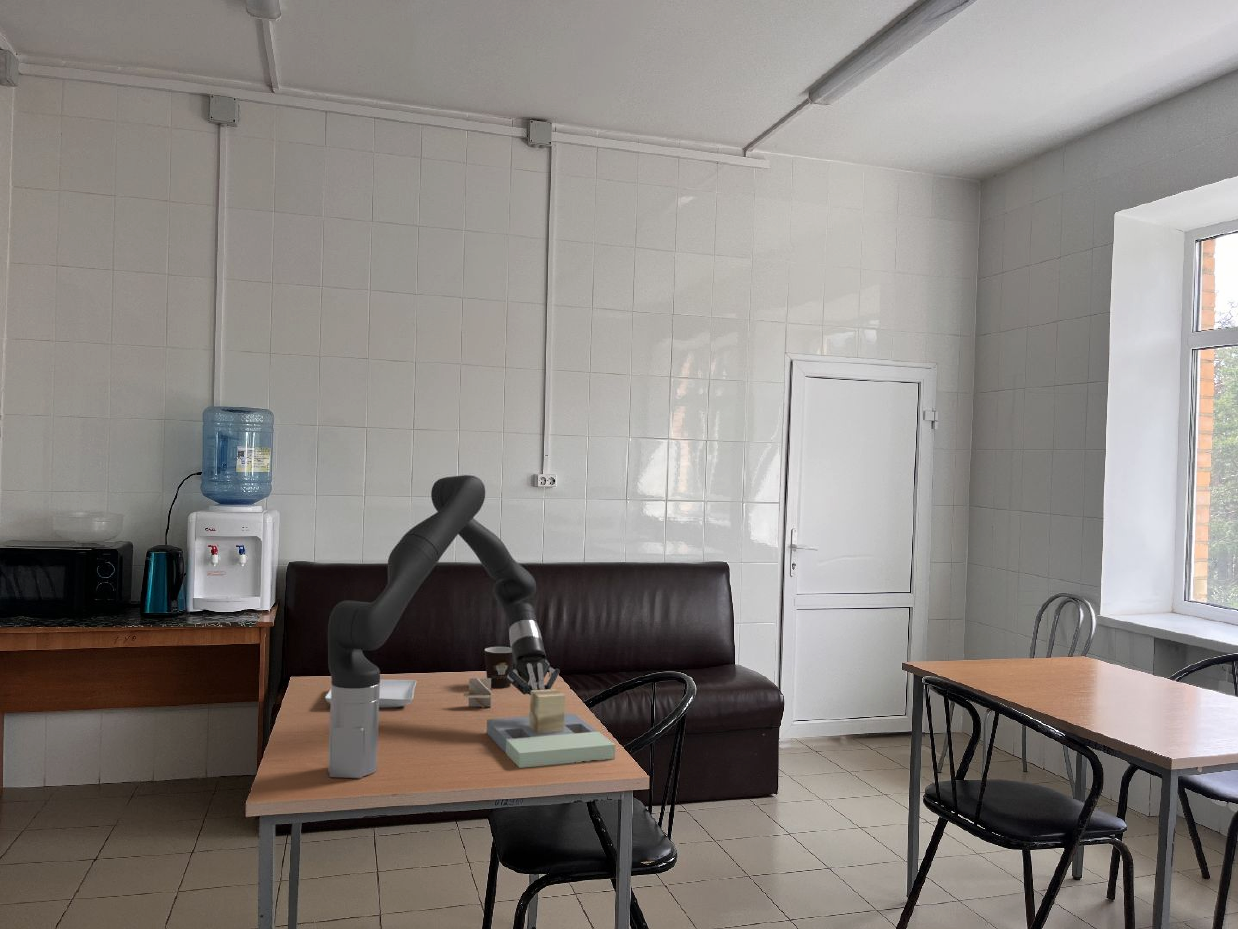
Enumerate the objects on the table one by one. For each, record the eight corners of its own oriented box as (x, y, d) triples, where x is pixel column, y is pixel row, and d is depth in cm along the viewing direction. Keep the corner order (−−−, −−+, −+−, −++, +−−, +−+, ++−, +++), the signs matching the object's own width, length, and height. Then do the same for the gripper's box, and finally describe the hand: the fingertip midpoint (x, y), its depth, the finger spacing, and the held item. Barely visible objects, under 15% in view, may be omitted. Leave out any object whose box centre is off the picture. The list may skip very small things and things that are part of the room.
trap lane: (615, 758, 195) (615, 744, 195) (519, 768, 186) (519, 753, 186) (573, 725, 219) (573, 713, 219) (486, 732, 210) (487, 719, 210)
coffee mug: (479, 688, 253) (480, 651, 253) (488, 681, 261) (490, 646, 261) (520, 691, 251) (521, 654, 251) (528, 684, 259) (529, 648, 259)
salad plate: (416, 691, 249) (417, 678, 249) (412, 711, 228) (412, 697, 228) (335, 691, 245) (335, 678, 245) (323, 712, 224) (323, 698, 224)
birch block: (563, 731, 203) (564, 695, 203) (537, 733, 201) (539, 697, 201) (554, 724, 208) (556, 689, 208) (529, 726, 206) (530, 690, 206)
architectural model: (490, 711, 231) (491, 681, 231) (462, 711, 230) (463, 681, 230) (491, 707, 234) (491, 678, 234) (463, 707, 233) (464, 678, 233)
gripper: (503, 635, 214) (516, 701, 203) (557, 633, 219) (572, 697, 208) (496, 654, 219) (508, 719, 208) (549, 651, 224) (564, 715, 213)
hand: (540, 708), depth 208 cm, fingers closed
